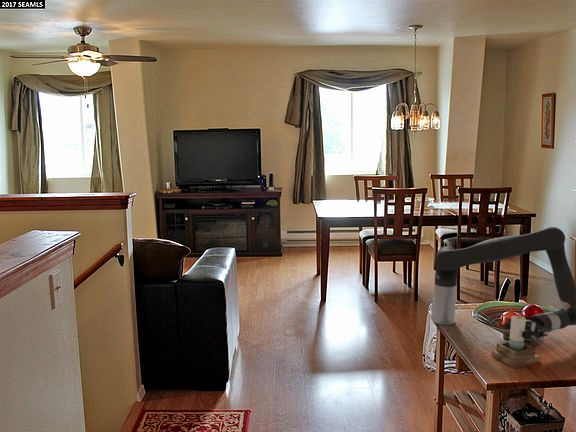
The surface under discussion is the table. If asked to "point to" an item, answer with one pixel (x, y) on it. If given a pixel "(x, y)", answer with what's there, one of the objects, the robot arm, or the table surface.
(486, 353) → the table surface
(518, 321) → the roll
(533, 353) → the stand
